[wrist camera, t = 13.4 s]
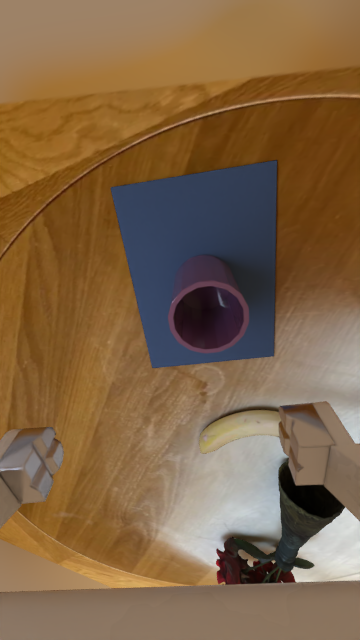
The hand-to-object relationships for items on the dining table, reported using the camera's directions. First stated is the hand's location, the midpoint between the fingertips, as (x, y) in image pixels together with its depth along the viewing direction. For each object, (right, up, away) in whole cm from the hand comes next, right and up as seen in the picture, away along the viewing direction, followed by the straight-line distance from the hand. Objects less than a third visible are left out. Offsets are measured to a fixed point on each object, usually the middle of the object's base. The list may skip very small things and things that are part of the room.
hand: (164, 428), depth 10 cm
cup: (+3, +8, +21) cm, 22 cm away
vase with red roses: (+17, -33, +42) cm, 56 cm away
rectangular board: (+3, +8, +21) cm, 23 cm away
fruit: (+11, -13, +32) cm, 35 cm away
